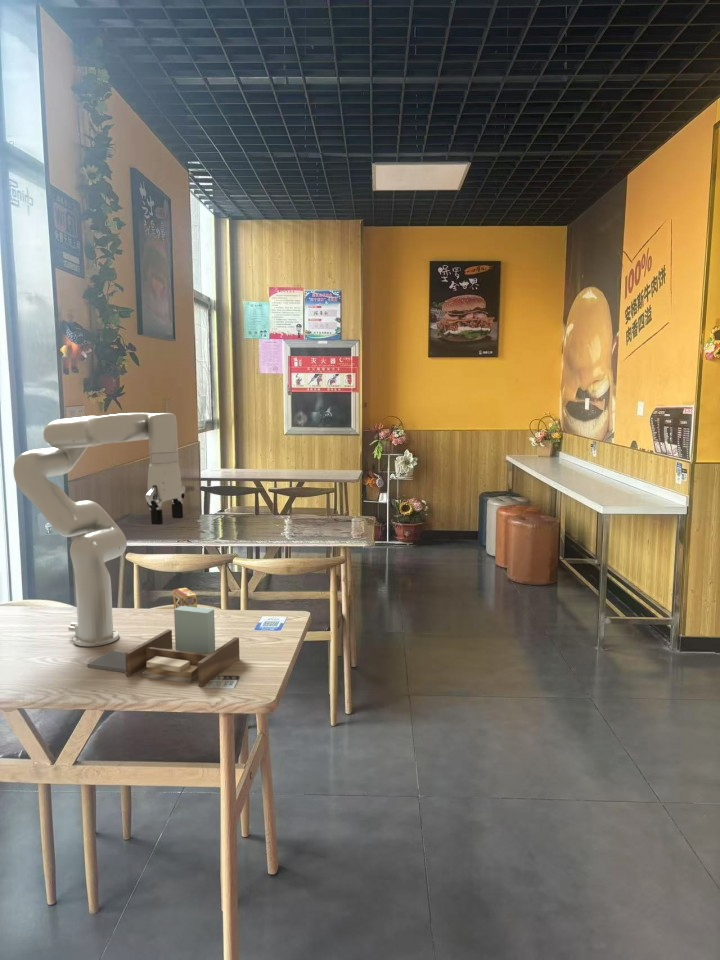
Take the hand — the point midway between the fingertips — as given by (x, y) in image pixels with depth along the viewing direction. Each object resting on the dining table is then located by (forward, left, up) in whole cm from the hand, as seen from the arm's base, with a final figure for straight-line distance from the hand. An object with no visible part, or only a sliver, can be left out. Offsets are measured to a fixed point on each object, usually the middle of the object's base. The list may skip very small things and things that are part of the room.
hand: (167, 521), depth 197 cm
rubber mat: (-7, -13, -36) cm, 39 cm away
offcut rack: (+11, -11, -36) cm, 39 cm away
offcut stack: (+11, -17, -37) cm, 42 cm away
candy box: (+2, +5, -37) cm, 37 cm away
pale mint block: (+11, -5, -36) cm, 38 cm away
